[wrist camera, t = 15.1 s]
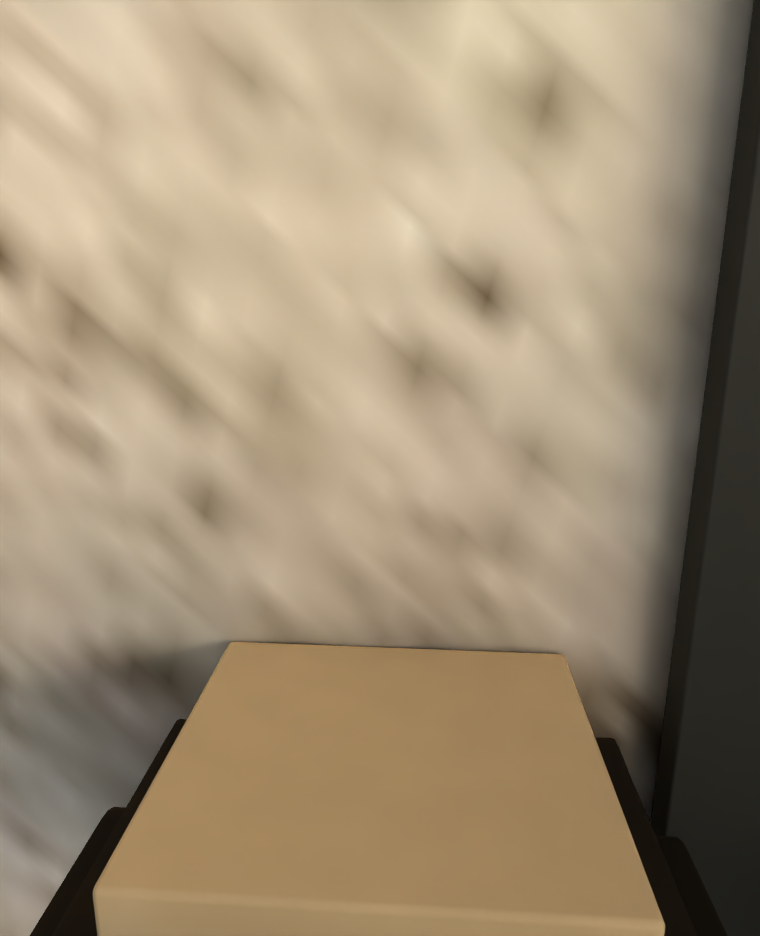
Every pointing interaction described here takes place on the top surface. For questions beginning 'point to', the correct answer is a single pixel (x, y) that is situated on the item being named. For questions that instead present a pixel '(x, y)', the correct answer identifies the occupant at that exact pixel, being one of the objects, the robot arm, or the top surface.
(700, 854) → the word mat
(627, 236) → the top surface
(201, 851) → the tile
